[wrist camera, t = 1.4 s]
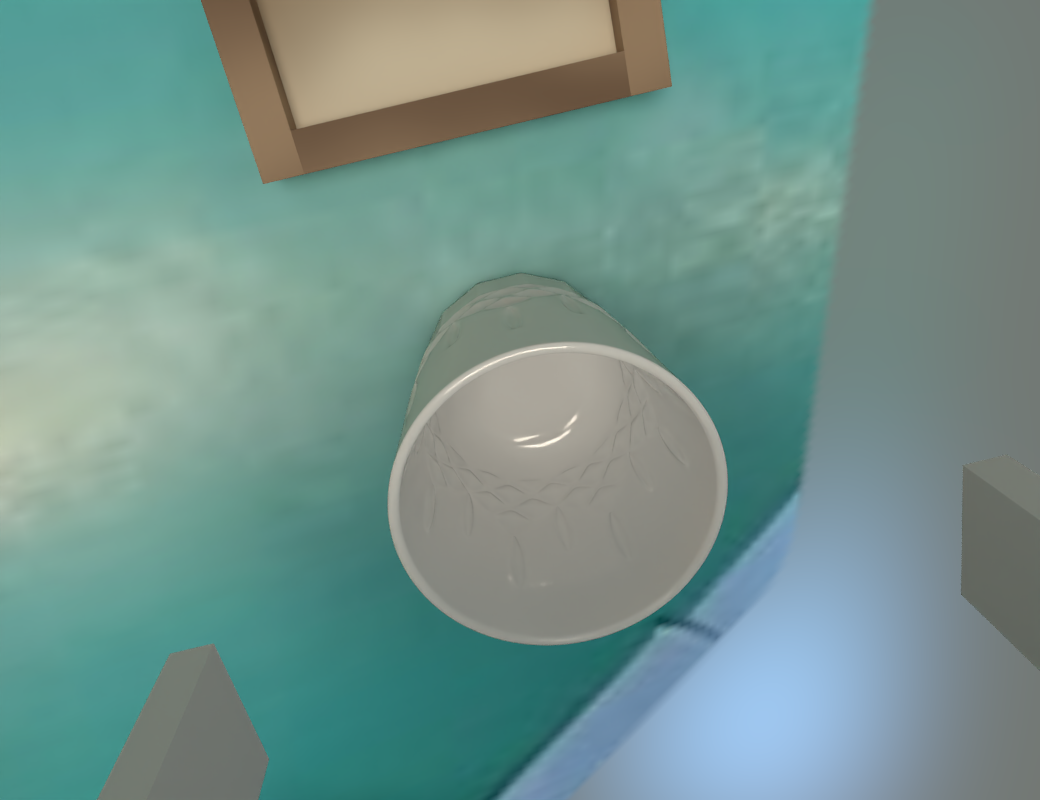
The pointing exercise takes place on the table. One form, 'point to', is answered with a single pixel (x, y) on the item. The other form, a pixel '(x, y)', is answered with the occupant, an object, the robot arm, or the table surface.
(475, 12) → the wooden divided tray
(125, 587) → the table surface
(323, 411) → the table surface
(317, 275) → the table surface
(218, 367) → the table surface
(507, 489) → the white cup
